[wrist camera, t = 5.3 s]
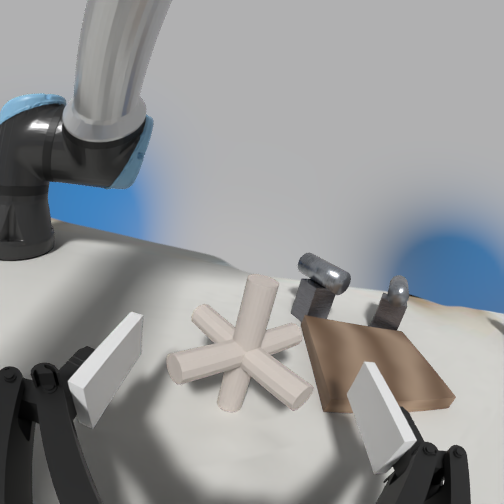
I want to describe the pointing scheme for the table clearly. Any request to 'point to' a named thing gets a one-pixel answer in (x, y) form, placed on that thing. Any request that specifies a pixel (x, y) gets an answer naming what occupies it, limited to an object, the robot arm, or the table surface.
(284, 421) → the table surface
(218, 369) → the pipe connector
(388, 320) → the dark grey piece
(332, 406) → the mounting pad
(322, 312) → the grey capsule on block
